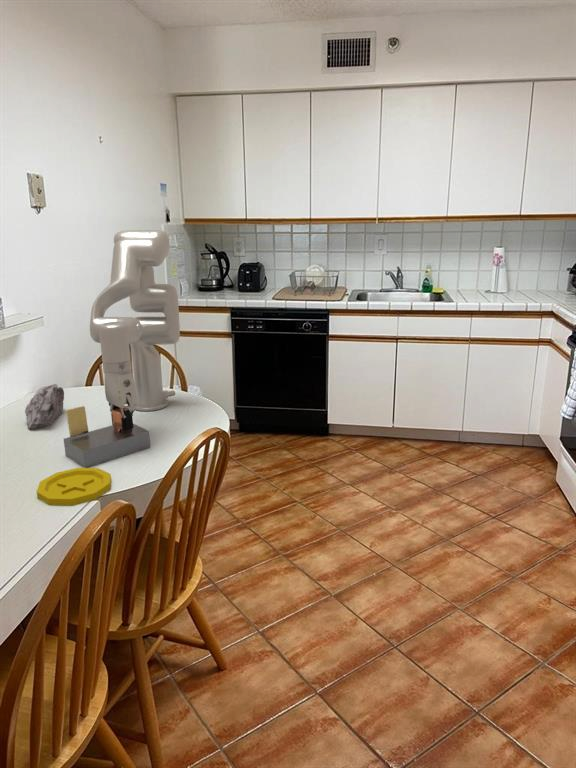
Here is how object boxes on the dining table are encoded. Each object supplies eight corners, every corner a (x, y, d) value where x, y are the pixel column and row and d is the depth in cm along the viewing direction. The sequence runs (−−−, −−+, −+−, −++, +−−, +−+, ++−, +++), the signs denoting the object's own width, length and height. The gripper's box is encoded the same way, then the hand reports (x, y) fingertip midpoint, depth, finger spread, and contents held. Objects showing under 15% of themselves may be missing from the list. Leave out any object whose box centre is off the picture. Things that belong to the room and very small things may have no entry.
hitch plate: (129, 436, 174) (128, 421, 172) (150, 447, 165) (149, 431, 164) (65, 455, 160) (63, 438, 159) (84, 468, 152) (82, 450, 151)
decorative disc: (86, 468, 152) (85, 462, 152) (125, 487, 142) (124, 480, 141) (25, 491, 140) (24, 484, 139) (63, 514, 129) (62, 506, 129)
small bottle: (127, 439, 169) (124, 406, 166) (136, 444, 166) (133, 410, 163) (112, 444, 166) (108, 410, 163) (120, 448, 163) (117, 414, 160)
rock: (43, 439, 178) (58, 396, 175) (11, 428, 177) (26, 385, 173) (63, 416, 200) (77, 378, 197) (35, 406, 198) (48, 367, 195)
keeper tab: (71, 437, 158) (70, 437, 159) (88, 433, 162) (87, 432, 162) (67, 410, 156) (65, 410, 157) (84, 406, 160) (83, 406, 161)
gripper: (144, 369, 156) (149, 431, 161) (114, 358, 168) (120, 416, 173) (119, 374, 151) (126, 438, 156) (90, 363, 163) (96, 423, 168)
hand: (122, 426), depth 164 cm, fingers closed on small bottle, 5 cm apart
